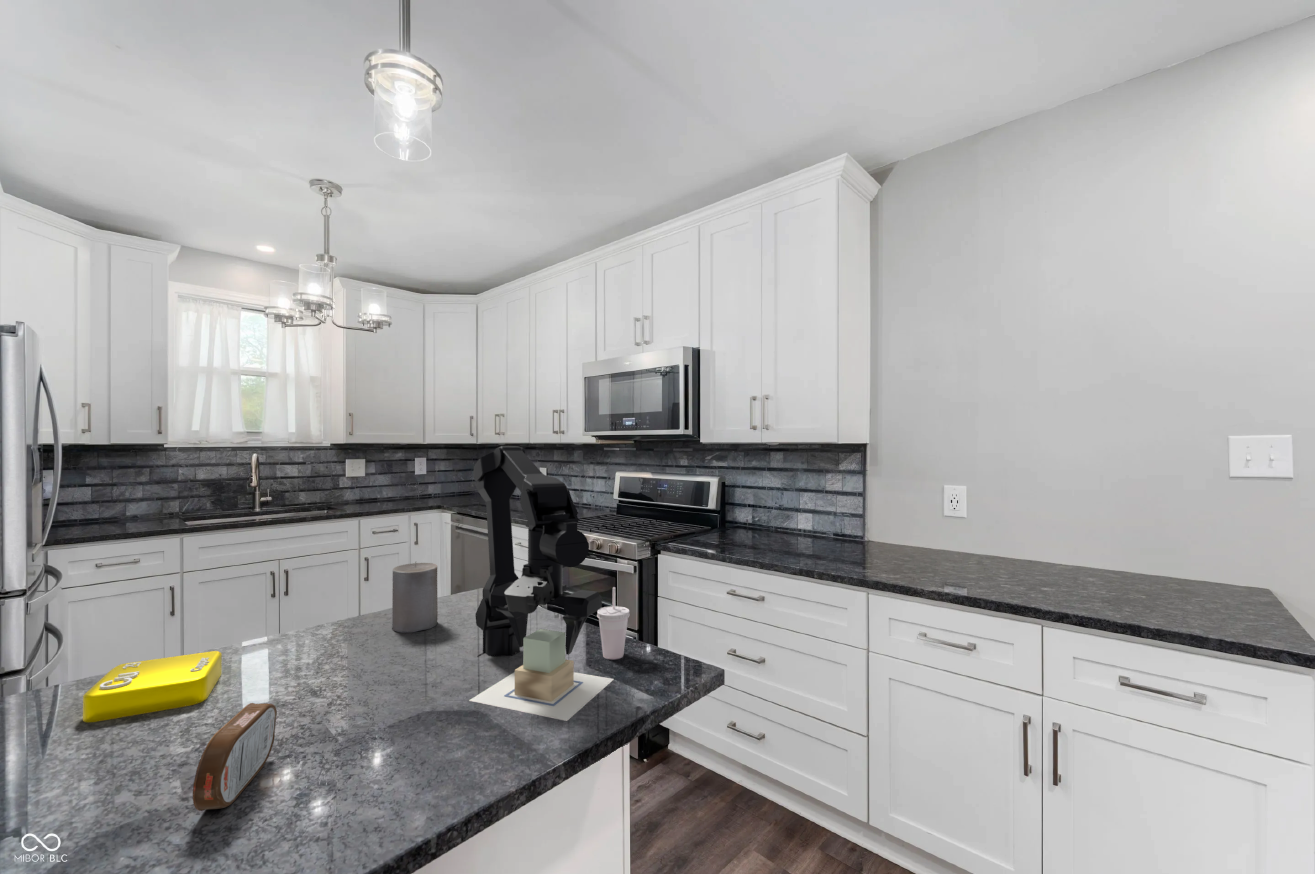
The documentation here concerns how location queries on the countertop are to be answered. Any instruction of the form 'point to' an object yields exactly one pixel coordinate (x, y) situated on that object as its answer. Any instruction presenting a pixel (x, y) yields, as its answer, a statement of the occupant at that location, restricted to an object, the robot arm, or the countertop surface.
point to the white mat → (558, 708)
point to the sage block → (544, 650)
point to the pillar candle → (414, 597)
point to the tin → (234, 756)
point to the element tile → (152, 686)
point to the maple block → (544, 682)
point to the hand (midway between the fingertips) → (544, 650)
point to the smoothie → (613, 629)
